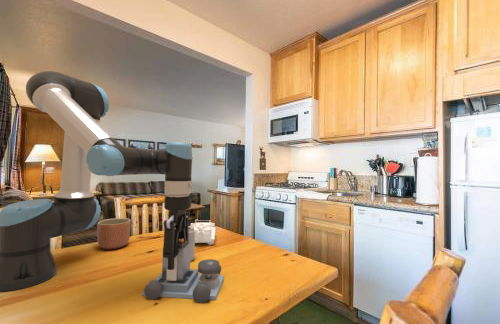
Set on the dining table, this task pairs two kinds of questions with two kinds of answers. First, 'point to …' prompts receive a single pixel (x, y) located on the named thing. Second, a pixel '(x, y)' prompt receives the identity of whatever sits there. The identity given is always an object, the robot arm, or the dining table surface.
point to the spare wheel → (208, 267)
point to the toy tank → (204, 232)
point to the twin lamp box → (179, 261)
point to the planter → (113, 233)
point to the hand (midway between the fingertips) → (176, 274)
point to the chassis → (186, 287)
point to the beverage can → (192, 242)
